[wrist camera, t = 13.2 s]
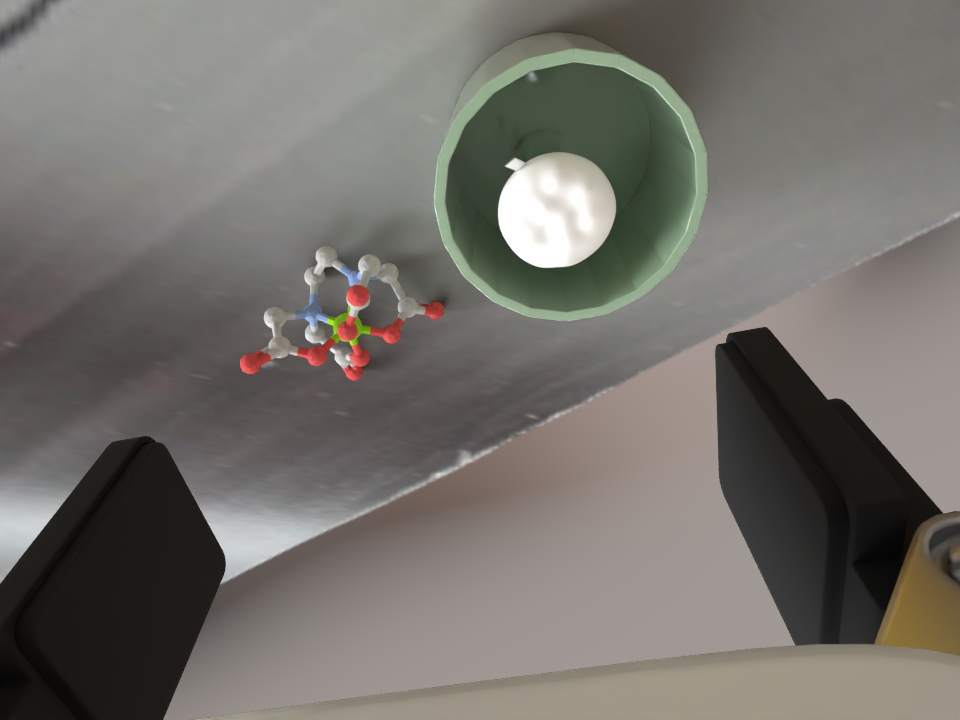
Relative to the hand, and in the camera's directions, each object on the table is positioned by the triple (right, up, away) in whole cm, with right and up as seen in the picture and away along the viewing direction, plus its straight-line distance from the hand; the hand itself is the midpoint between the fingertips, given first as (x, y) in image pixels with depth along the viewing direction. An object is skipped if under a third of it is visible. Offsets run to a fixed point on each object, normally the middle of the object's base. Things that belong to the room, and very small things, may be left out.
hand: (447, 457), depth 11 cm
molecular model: (-6, +5, +27) cm, 28 cm away
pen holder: (+4, +12, +22) cm, 25 cm away
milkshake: (+3, +12, +22) cm, 25 cm away
